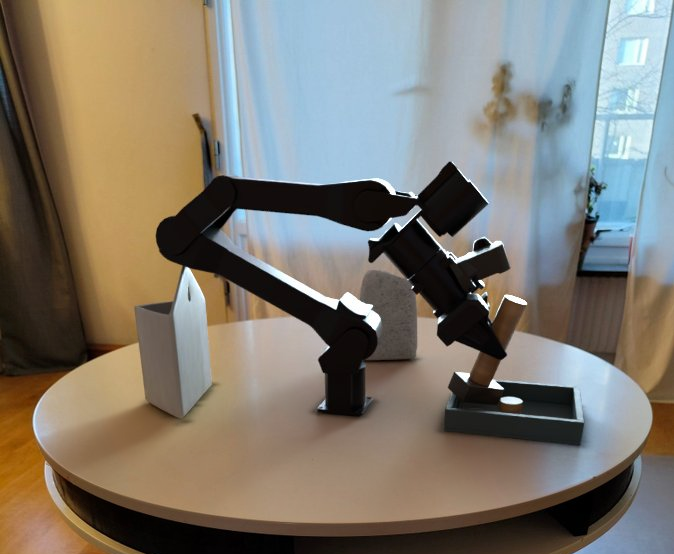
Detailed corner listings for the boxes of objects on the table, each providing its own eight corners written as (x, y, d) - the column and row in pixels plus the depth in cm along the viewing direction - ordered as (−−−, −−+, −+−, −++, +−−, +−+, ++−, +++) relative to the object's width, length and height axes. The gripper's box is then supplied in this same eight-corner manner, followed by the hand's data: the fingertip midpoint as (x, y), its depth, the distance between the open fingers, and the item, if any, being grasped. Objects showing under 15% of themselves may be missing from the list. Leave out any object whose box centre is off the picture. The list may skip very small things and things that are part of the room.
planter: (163, 383, 97) (149, 256, 90) (212, 384, 97) (202, 257, 90) (124, 417, 82) (104, 268, 75) (183, 418, 82) (168, 268, 75)
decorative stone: (416, 353, 111) (420, 268, 105) (417, 363, 106) (421, 274, 99) (356, 352, 112) (356, 268, 106) (354, 362, 107) (354, 274, 100)
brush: (462, 402, 81) (506, 302, 74) (447, 387, 84) (488, 289, 77) (497, 405, 83) (543, 309, 77) (481, 391, 86) (524, 297, 80)
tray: (580, 445, 74) (584, 422, 73) (443, 430, 79) (445, 409, 78) (576, 406, 86) (579, 386, 85) (457, 395, 91) (458, 376, 89)
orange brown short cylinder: (520, 419, 81) (522, 405, 80) (497, 417, 82) (498, 403, 81) (521, 411, 83) (523, 397, 83) (498, 409, 84) (500, 395, 83)
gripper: (476, 224, 65) (567, 331, 68) (473, 210, 82) (546, 297, 85) (399, 295, 70) (487, 392, 73) (411, 269, 87) (482, 349, 90)
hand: (503, 354), depth 80 cm, fingers closed on brush, 3 cm apart
